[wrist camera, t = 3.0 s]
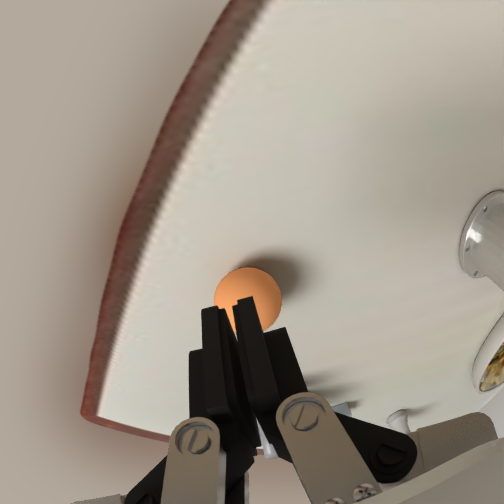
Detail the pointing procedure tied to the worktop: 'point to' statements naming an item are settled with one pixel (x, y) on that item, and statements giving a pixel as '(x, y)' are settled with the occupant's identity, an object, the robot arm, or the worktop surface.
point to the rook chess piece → (399, 422)
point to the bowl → (490, 361)
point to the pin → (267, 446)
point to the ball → (250, 294)
